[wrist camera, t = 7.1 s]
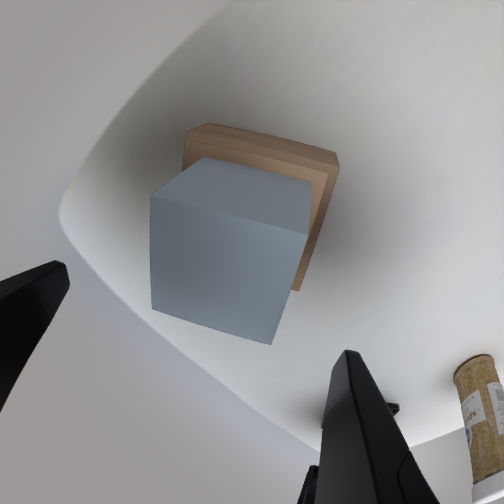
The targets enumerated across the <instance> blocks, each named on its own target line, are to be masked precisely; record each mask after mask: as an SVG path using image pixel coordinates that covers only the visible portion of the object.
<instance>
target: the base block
mask: <svg viewBox="0 0 504 504" xmlns="http://www.w3.org/2000/svg"><path fill="white" fill-rule="evenodd" d="M203 157H208V158H213V159H218V160H222V161H227V162H232V163H236V164H241V165H245V166H249V167H254V168H258V169H262V170H266V171H270V172H274V173H278V174H282V175H286V176H290V177H294V178H298V179H302V180H305V181H309V182H312V196H311V210H310V222H309V235H308V238H307V241H306V245H305V248H304V251H303V254H302V257H301V260H300V263H299V266H298V269H297V272H296V275H295V278H294V281H293V284H292V287H291V289H292V290H295V291H299V290H300V287H301V284H302V281H303V278H304V276H305V273H306V270H307V267H308V264H309V261H310V259H311V256H312V253H313V250H314V247H315V244H316V241H317V238H318V235H319V232H320V229H321V226H322V223H323V220H324V217H325V214H326V210H327V207H328V204H329V201H330V198H331V195H332V191H333V188H334V185H335V182H336V178H337V175H338V172H339V168H340V166H339V163H338V159H337V155H336V153H334V152H331V151H328V150H324V149H320V148H317V147H313V146H310V145H306V144H302V143H298V142H294V141H290V140H286V139H282V138H278V137H274V136H269V135H265V134H260V133H256V132H251V131H246V130H241V129H236V128H231V127H226V126H220V125H214V124H206V125H203V126H200V127H198V128H196V129H193V130H191V131H188V132H186V140H185V149H184V158H183V168H182V172H183V171H184V170H186V169H187V168H189V167H190V166H191V165H193V164H194V163H196V162H197V161H199V160H200V159H201V158H203Z"/></svg>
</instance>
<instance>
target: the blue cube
mask: <svg viewBox="0 0 504 504" xmlns="http://www.w3.org/2000/svg"><path fill="white" fill-rule="evenodd" d="M311 196H312V182H309V181H305V180H302V179H298V178H294V177H290V176H286V175H282V174H278V173H274V172H270V171H266V170H262V169H258V168H254V167H249V166H245V165H241V164H236V163H232V162H227V161H222V160H218V159H213V158H208V157H203V158H201V159H200V160H199V161H197V162H196V163H194V164H193V165H191V166H190V167H189V168H187V169H186V170H184V171H183V172H182V173H180V174H179V175H177V176H176V177H175V178H173V179H172V180H171V181H169V182H168V183H166V184H165V185H164V186H162V187H161V188H160V189H158V190H157V191H156V192H155V193H153V194H152V195H151V198H150V276H151V300H152V309H154V310H156V311H159V312H162V313H165V314H168V315H171V316H174V317H177V318H180V319H183V320H186V321H189V322H192V323H196V324H199V325H202V326H205V327H208V328H212V329H215V330H218V331H222V332H225V333H228V334H232V335H235V336H239V337H242V338H246V339H250V340H253V341H257V342H261V343H264V344H268V345H271V344H272V341H273V338H274V336H275V333H276V330H277V327H278V324H279V322H280V319H281V316H282V313H283V310H284V307H285V305H286V302H287V299H288V296H289V293H290V290H291V287H292V284H293V281H294V278H295V275H296V272H297V269H298V266H299V263H300V260H301V257H302V254H303V251H304V248H305V245H306V241H307V238H308V235H309V222H310V210H311Z"/></svg>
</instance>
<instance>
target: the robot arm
mask: <svg viewBox="0 0 504 504" xmlns="http://www.w3.org/2000/svg"><path fill="white" fill-rule="evenodd" d="M69 286H70V281H69V276H68V272H67V268H66V265H65V264H64V263H62V262H60V261H57V260H54V261H51V262H49V263H46V264H43V265H40V266H38V267H35V268H33V269H30V270H27V271H25V272H22V273H20V274H17V275H15V276H12V277H10V278H7V279H5V280H2V281H0V412H1V410H2V408H3V406H4V404H5V402H6V400H7V398H8V396H9V394H10V392H11V390H12V388H13V386H14V384H15V383H16V380H17V379H18V377H19V375H20V373H21V372H22V370H23V368H24V366H25V364H26V363H27V361H28V359H29V357H30V356H31V354H32V352H33V351H34V349H35V347H36V345H37V344H38V342H39V341H40V339H41V338H42V336H43V334H44V333H45V331H46V330H47V328H48V326H49V325H50V323H51V321H52V319H53V317H54V315H55V313H56V312H57V310H58V308H59V306H60V304H61V302H62V300H63V299H64V297H65V295H66V293H67V291H68V289H69ZM399 410H400V409H399V406H398V405H390V404H386V402H385V400H384V398H383V396H382V394H381V392H380V390H379V389H378V387H377V385H376V383H375V381H374V379H373V377H372V376H371V374H370V372H369V370H368V368H367V366H366V364H365V363H364V361H363V359H362V357H361V355H360V354H359V353H358V352H356V351H352V350H344V351H343V353H342V354H341V356H340V357H339V359H338V360H337V362H336V364H335V365H334V367H333V370H332V374H331V380H330V386H329V392H328V397H327V403H326V408H325V413H324V420H323V423H322V425H321V428H322V429H323V431H322V443H321V453H320V463H319V466H316V465H312V466H310V468H309V471H308V473H307V475H306V478H305V481H304V484H303V488H302V491H301V494H300V497H299V499H298V503H297V504H440V503H439V501H438V500H437V498H436V496H435V495H434V493H433V491H432V490H431V488H430V486H429V485H428V483H427V481H426V480H425V478H424V476H423V475H422V473H421V471H420V469H419V467H418V465H417V463H416V461H415V459H414V457H413V455H412V453H411V451H409V447H408V445H407V443H406V441H405V439H404V437H403V435H402V433H401V431H400V429H399V427H398V425H397V423H396V421H395V419H394V417H393V416H394V415H395V414H397V413H398V412H399Z"/></svg>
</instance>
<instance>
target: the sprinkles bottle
mask: <svg viewBox="0 0 504 504" xmlns="http://www.w3.org/2000/svg"><path fill="white" fill-rule="evenodd" d="M454 383H455V385H456V386H457V390H458V394H459V399H460V403H461V410H462V415H463V419H464V424H465V430H466V435H467V441H468V447H469V451H470V457H471V464H472V471H473V484H474V486H473V487H472V501H473V504H485V503H488V502H491V501H493V500H496V499H498V498H500V497H503V496H504V390H503V387H502V385H501V383H500V381H499V378H498V375H497V372H496V369H495V363H494V360H493V359H492V357H490V356H479V357H476V358H473V359H472V360H470V361H468V362H467V363H465V364H464V365H463V366H461V367H460V369H458V371H457V372H456V374H455V377H454Z"/></svg>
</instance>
